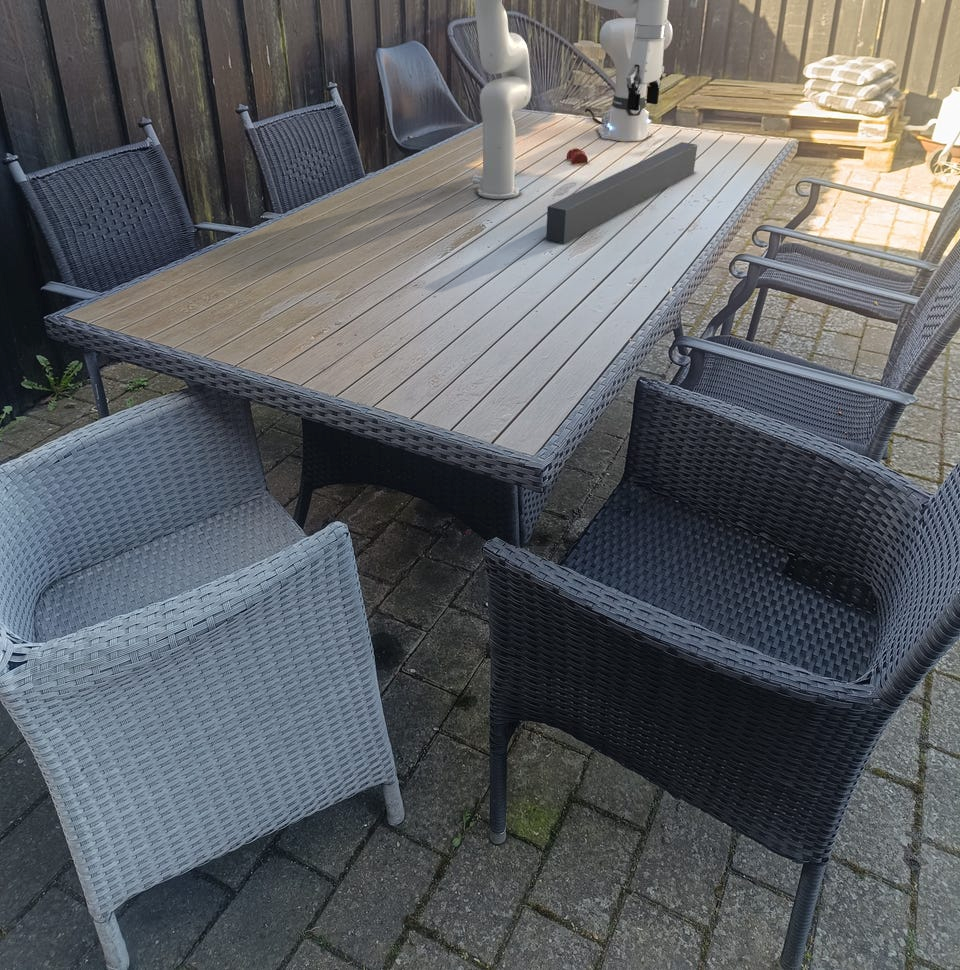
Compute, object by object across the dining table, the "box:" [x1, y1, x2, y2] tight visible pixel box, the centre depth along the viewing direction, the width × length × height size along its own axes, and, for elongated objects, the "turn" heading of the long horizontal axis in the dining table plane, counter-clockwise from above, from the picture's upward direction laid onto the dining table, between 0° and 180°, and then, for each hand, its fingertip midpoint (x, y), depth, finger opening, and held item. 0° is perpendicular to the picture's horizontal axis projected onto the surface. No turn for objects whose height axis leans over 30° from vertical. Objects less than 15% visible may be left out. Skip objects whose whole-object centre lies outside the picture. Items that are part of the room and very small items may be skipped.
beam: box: [545, 141, 698, 245], centre depth 246 cm, size 81×6×9 cm, turn 144°
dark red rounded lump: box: [566, 147, 589, 165], centre depth 283 cm, size 6×4×8 cm
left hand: (642, 106), depth 219 cm, fingers open, 9 cm apart
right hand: (678, 8), depth 259 cm, fingers open, 8 cm apart
